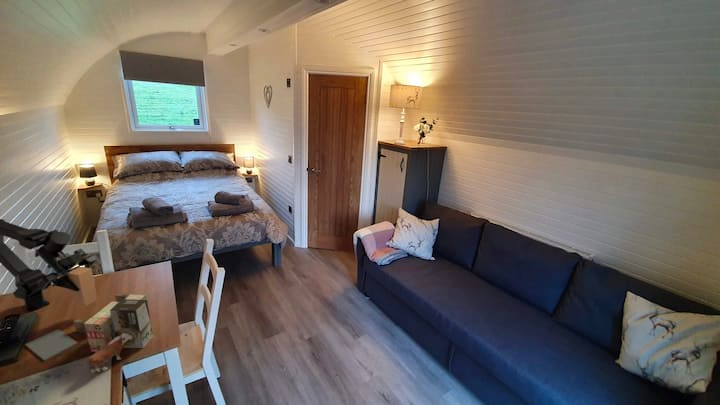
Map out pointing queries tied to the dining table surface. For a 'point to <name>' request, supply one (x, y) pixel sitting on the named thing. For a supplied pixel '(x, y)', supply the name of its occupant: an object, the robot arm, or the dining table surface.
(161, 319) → the dining table surface
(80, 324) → the beige u-shaped block
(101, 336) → the printed cardboard box
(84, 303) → the tan block
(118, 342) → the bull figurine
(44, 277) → the robot arm
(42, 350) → the slate mat
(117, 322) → the coffee box
